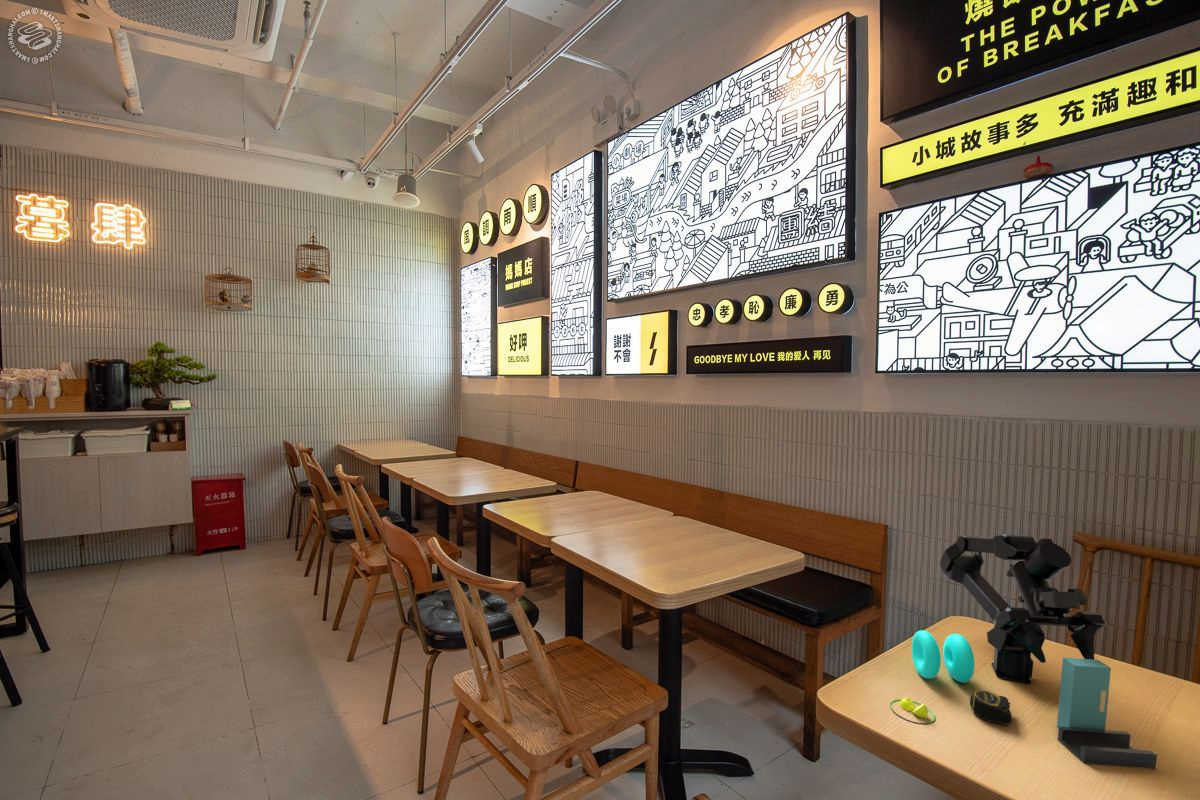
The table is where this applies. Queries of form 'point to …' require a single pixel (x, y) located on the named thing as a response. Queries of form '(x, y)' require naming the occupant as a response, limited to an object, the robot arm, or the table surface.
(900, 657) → the table surface
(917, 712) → the lemon
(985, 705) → the tape measure
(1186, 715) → the table surface
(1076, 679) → the door panel
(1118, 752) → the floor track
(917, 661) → the donuts
